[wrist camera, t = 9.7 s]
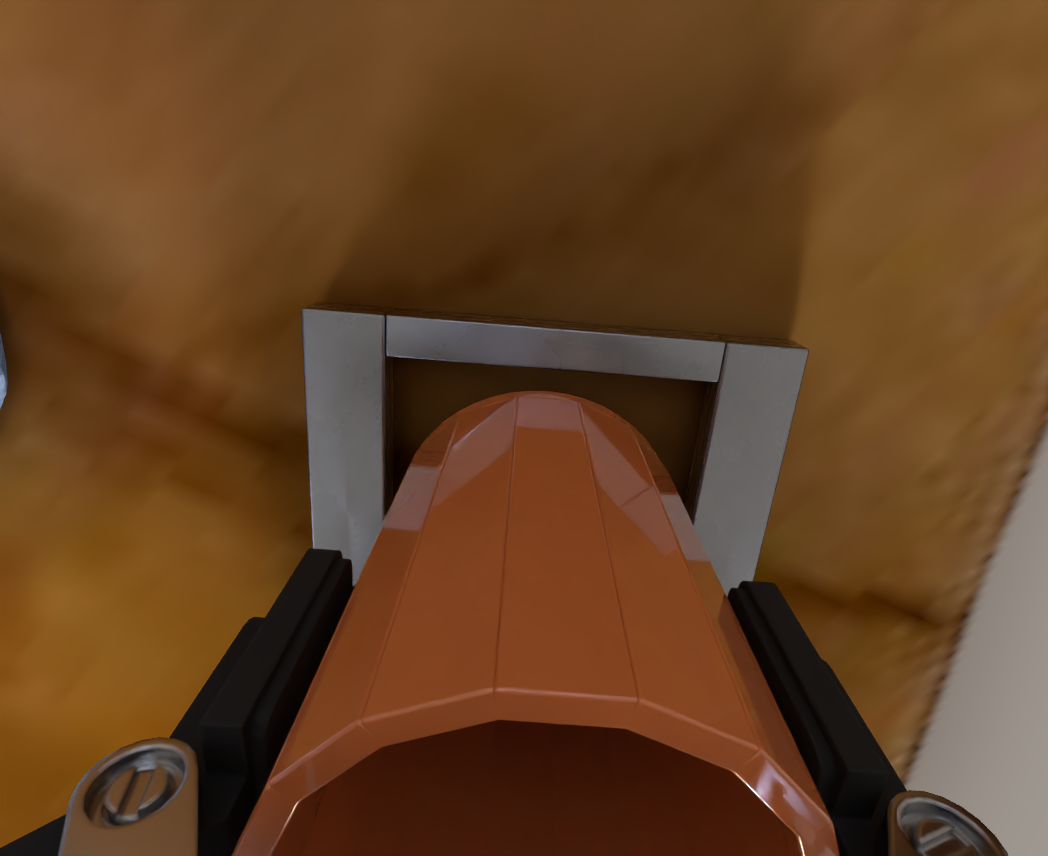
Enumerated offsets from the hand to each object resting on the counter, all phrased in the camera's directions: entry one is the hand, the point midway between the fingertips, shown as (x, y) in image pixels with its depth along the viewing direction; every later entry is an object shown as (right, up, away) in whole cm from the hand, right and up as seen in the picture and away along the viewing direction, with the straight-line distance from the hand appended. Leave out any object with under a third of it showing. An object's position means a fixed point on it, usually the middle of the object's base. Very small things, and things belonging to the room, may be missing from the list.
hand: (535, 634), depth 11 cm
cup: (0, +2, +4) cm, 4 cm away
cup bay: (0, +1, +6) cm, 6 cm away
